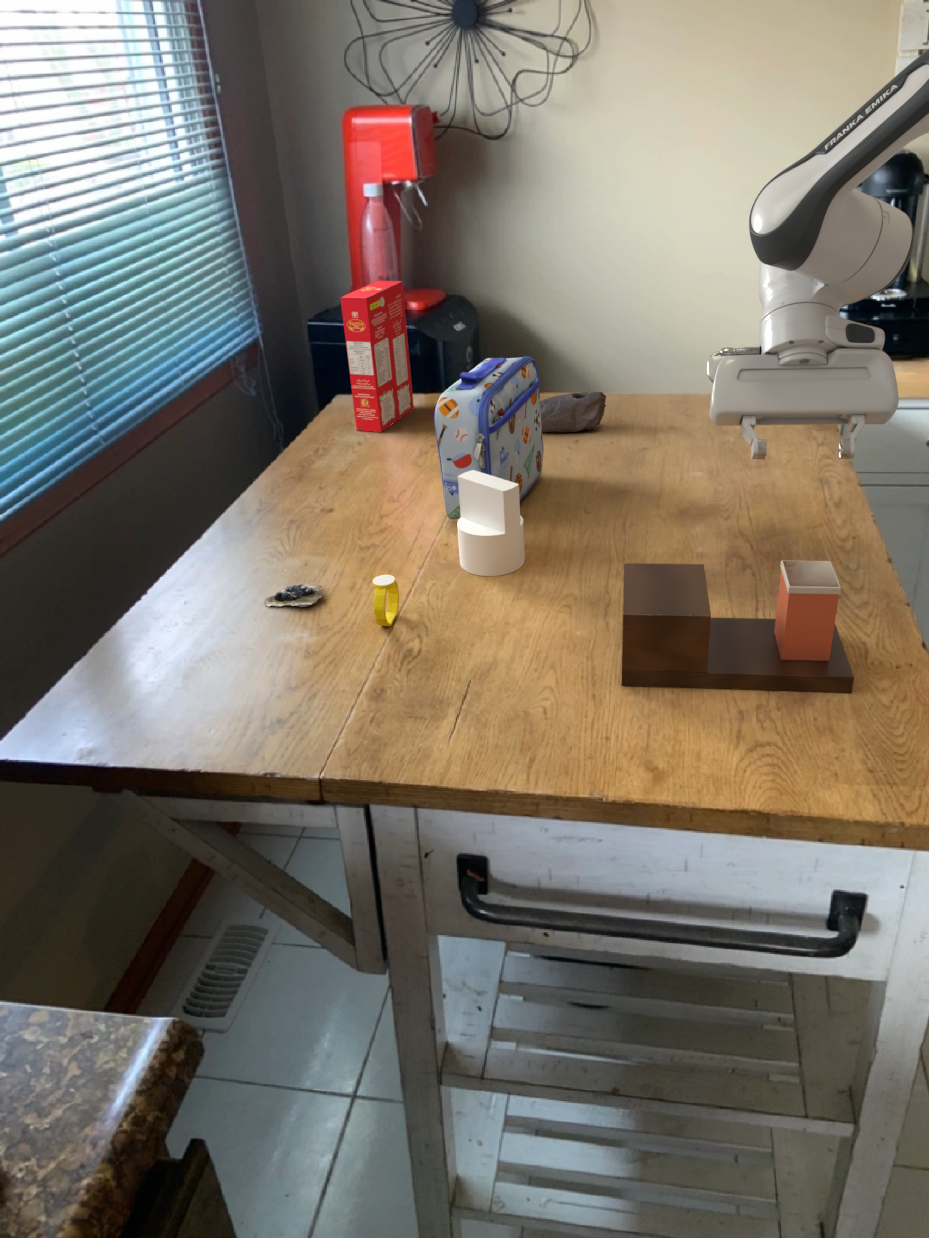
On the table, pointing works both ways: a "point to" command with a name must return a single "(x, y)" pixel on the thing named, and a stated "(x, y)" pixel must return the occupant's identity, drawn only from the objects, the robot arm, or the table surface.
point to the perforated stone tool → (572, 412)
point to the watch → (381, 587)
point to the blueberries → (295, 596)
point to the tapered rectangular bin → (806, 610)
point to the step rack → (708, 640)
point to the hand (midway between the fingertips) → (802, 457)
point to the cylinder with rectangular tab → (489, 525)
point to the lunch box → (490, 426)
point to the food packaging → (378, 354)
